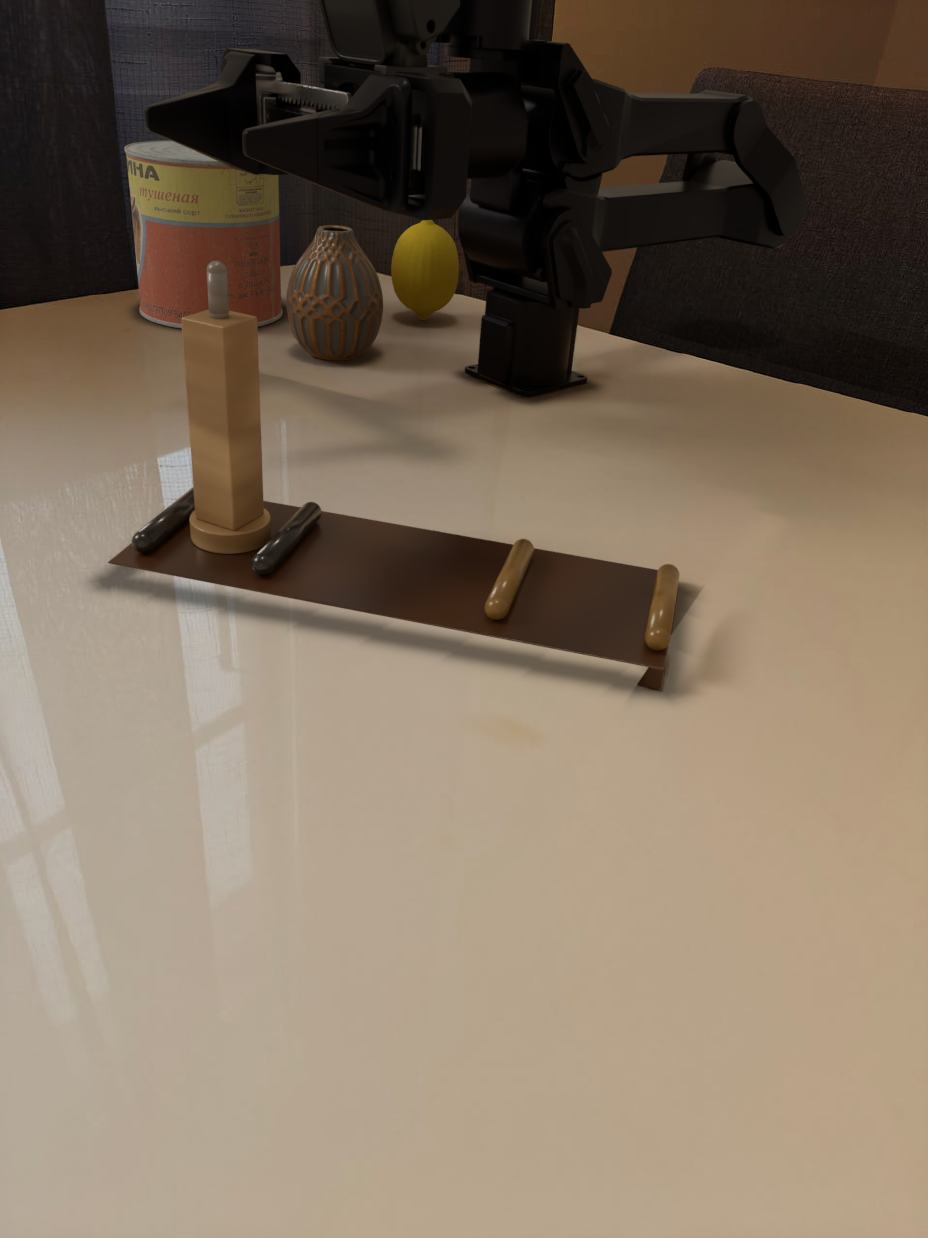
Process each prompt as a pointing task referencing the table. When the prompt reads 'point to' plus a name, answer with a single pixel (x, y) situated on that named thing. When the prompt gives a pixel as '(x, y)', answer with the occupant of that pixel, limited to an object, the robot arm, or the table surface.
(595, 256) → the robot arm
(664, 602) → the board
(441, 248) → the lemon
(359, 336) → the vase
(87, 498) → the table surface
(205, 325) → the wooden tall post
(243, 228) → the canned food
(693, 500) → the table surface
